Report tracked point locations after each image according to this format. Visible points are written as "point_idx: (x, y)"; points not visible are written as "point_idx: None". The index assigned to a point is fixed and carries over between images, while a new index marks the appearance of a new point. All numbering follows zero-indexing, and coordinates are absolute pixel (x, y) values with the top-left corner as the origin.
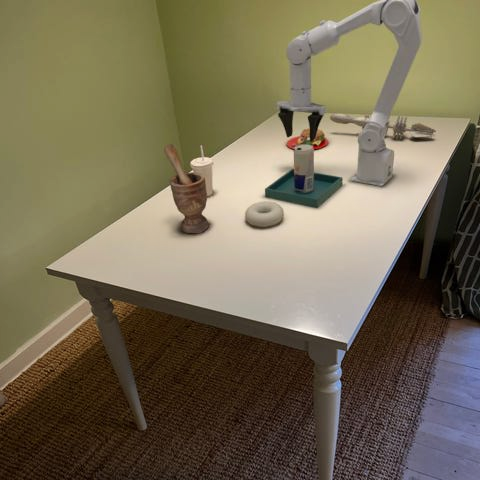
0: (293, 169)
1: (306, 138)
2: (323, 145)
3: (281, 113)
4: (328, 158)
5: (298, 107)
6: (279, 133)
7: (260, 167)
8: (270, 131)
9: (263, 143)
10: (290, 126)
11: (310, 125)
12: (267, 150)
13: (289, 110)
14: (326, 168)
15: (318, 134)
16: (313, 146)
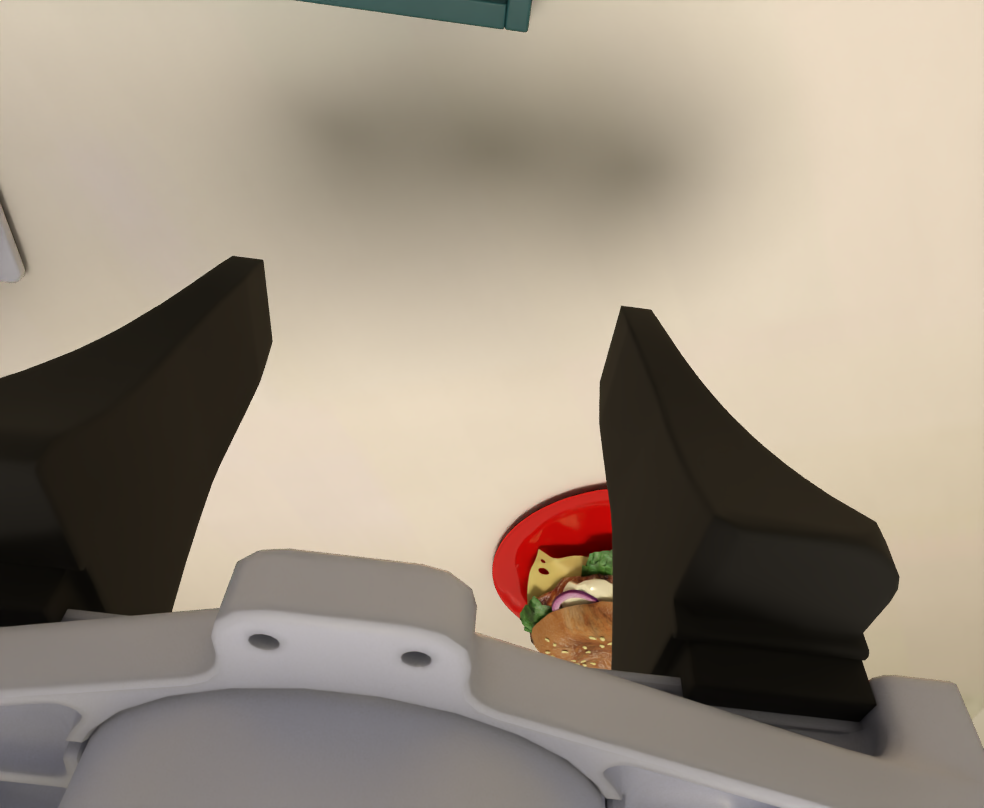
0: (502, 6)
1: None
2: (505, 556)
3: (812, 587)
4: (389, 414)
5: (249, 691)
6: None
7: (938, 138)
8: (920, 669)
9: (954, 543)
10: (621, 453)
11: (119, 367)
12: (907, 457)
13: (643, 675)
14: (309, 258)
15: (551, 626)
16: (569, 542)
